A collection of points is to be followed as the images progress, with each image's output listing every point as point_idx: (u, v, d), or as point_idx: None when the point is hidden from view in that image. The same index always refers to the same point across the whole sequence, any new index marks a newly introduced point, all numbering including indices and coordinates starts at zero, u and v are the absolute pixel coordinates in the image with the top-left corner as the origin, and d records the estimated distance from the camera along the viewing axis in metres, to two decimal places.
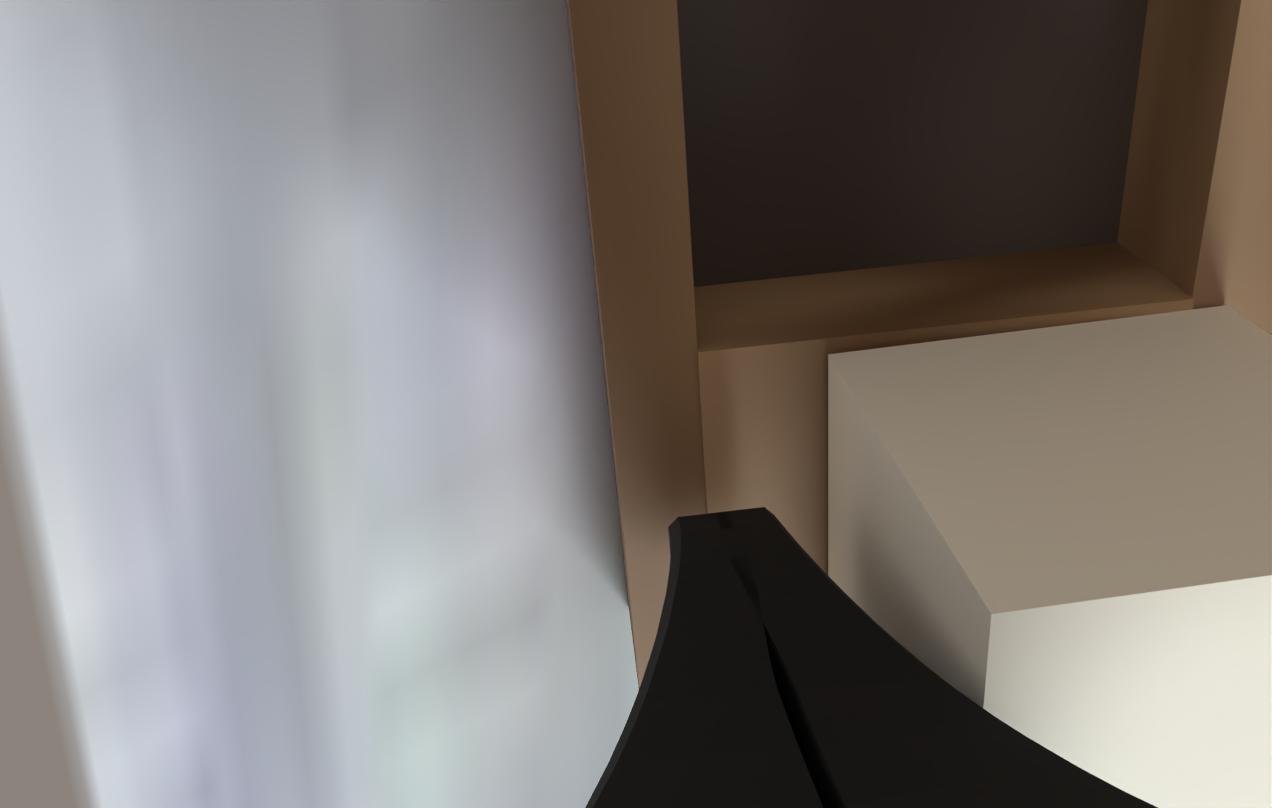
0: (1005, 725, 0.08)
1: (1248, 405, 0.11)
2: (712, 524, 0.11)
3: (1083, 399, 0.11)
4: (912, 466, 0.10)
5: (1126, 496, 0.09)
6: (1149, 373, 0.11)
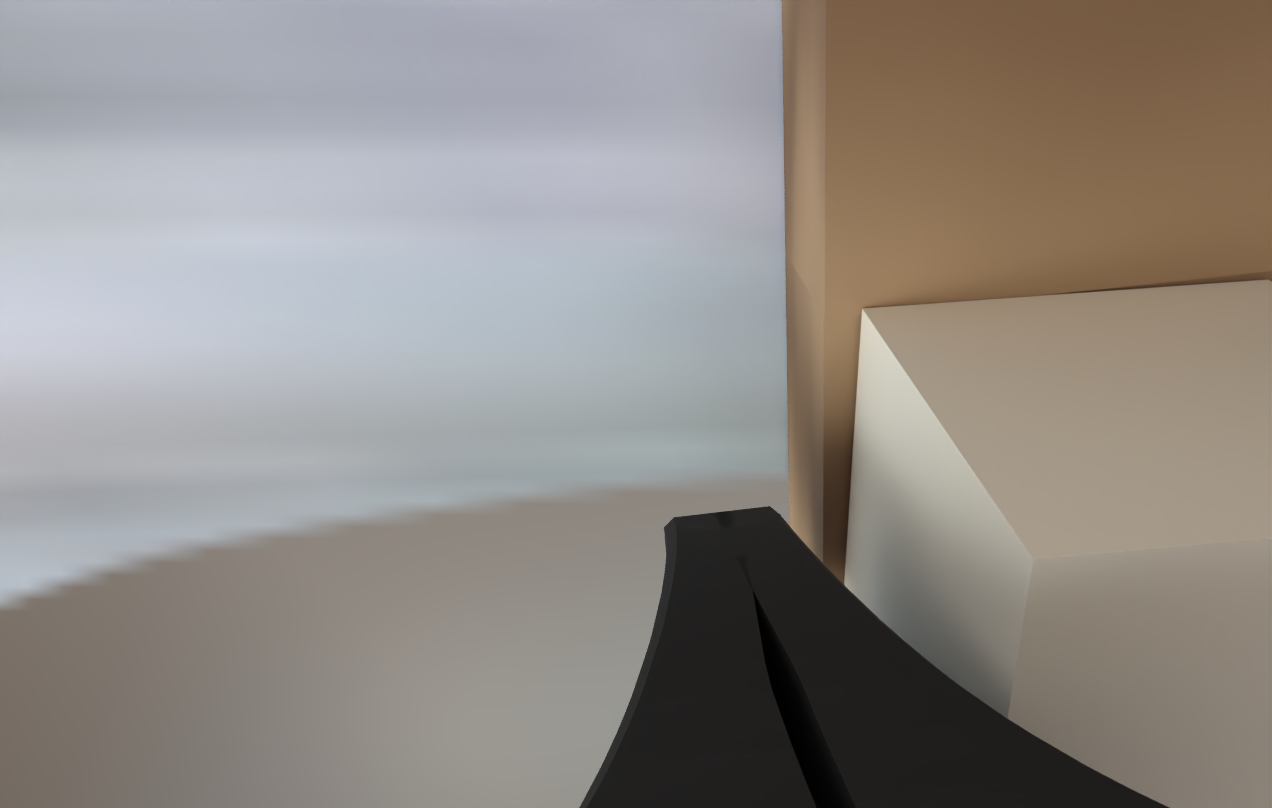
0: (1014, 724, 0.08)
1: None
2: (707, 525, 0.11)
3: None
4: None
5: None
6: None
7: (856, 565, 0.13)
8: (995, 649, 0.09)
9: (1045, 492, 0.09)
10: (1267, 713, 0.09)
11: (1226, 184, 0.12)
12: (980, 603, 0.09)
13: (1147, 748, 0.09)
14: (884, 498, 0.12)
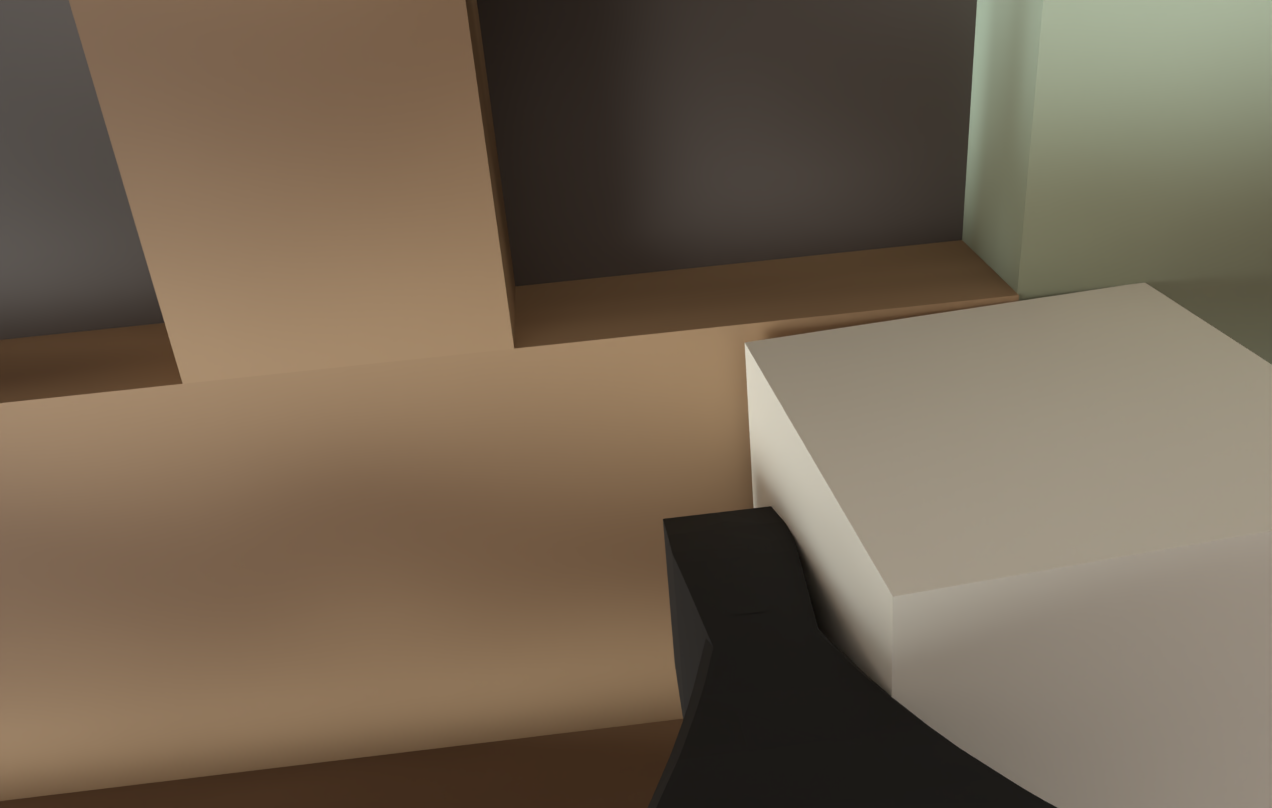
0: (936, 734, 0.08)
1: None
2: (754, 520, 0.12)
3: None
4: None
5: None
6: None
7: None
8: None
9: (909, 524, 0.09)
10: (1150, 724, 0.09)
11: None
12: (859, 639, 0.09)
13: (1034, 770, 0.09)
14: None
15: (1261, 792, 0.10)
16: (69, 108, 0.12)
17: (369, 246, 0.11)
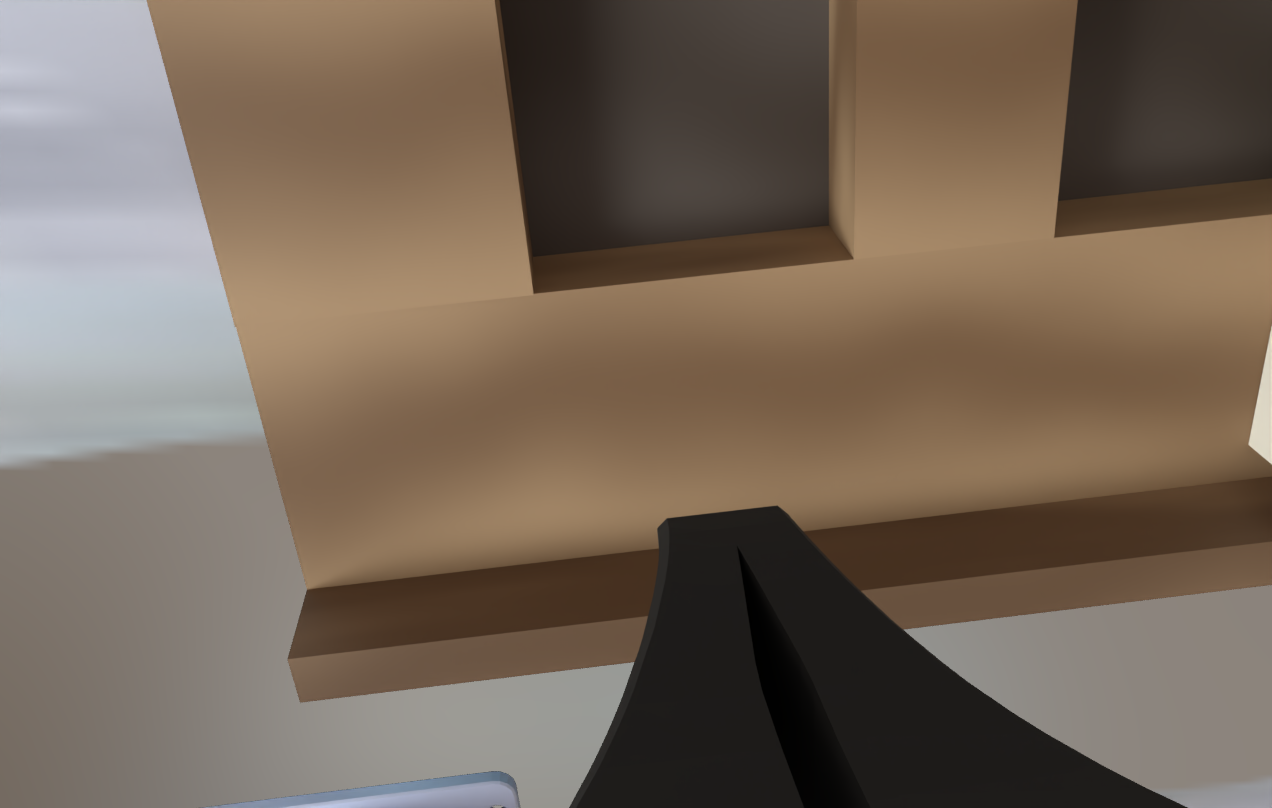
0: (1025, 722, 0.08)
1: None
2: (700, 525, 0.11)
3: None
4: None
5: None
6: None
7: None
8: None
9: None
10: None
11: (478, 241, 0.18)
12: None
13: None
14: None
15: None
16: (771, 90, 0.20)
17: (984, 172, 0.19)
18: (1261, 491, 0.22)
